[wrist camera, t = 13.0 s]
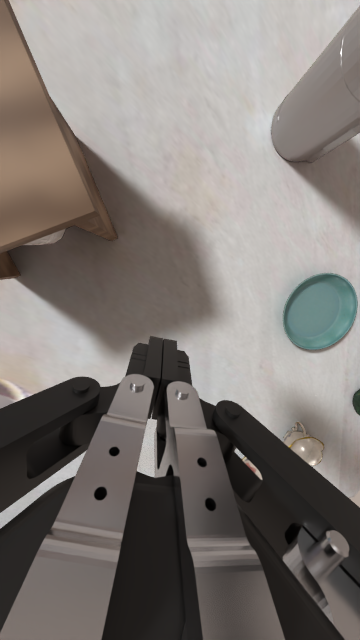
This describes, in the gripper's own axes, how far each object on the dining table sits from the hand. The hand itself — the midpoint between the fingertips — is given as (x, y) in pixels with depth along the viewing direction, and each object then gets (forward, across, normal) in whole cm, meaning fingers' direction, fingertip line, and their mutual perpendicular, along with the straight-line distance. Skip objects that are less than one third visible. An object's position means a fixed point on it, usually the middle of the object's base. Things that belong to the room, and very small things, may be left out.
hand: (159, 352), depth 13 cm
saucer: (+30, -30, +3) cm, 42 cm away
